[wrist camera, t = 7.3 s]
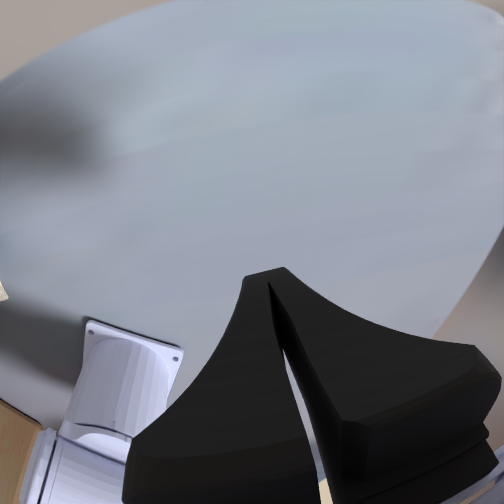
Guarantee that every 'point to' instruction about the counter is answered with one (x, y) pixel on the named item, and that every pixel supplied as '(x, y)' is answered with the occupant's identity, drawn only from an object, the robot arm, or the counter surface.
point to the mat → (3, 293)
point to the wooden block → (14, 451)
